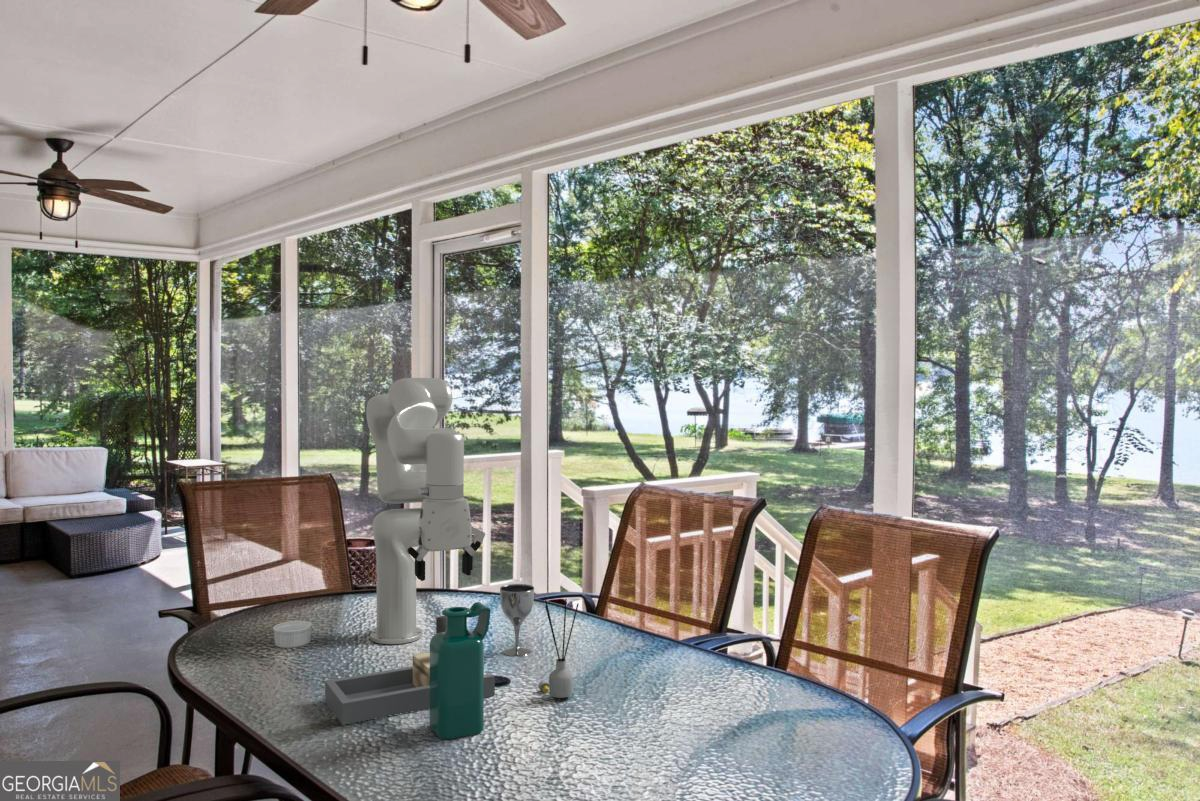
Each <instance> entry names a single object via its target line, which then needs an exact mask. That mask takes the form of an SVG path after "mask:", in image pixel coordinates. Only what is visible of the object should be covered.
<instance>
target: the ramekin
mask: <svg viewBox="0 0 1200 801" xmlns="http://www.w3.org/2000/svg"><path fill="white" fill-rule="evenodd" d="M312 627H313V623H312V622H310V621H308V620H290V621H284V622H280V623H278V624H275V625H273V627H272V631H273V635H274V636H273V637H274V644H275V645H276V647H278V648H282V647H283V649H288V648H290V649H291V648H292V647H293V648H299V647H302V646H306V645H308V644H309V643H310V641H311V636H312V635H311V633H312Z"/></svg>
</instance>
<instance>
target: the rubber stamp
mask: <svg viewBox="0 0 1200 801" xmlns="http://www.w3.org/2000/svg"><path fill="white" fill-rule="evenodd" d="M435 620H436V622H435V623H436V630H435V631H436V632H435V635H436V634H438V633H441V632H445V631H446V629H447V616H444V615H440V616H437V617H436V619H435ZM412 666H413V685H414V686H415V687H422V686H427V685H430V651H429V652H422V653H421V652H420V653H416V654H415V653H414V654H412Z"/></svg>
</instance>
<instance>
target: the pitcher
mask: <svg viewBox="0 0 1200 801" xmlns="http://www.w3.org/2000/svg"><path fill="white" fill-rule="evenodd" d="M441 614H442V616H447V629H446V631H445V632H441V633H438V634H436V633H435V634H434V635H433V636H432V637H431V639H430V642H429V652H430V709H429V727H430V728H431V730H432V731H433V732H434V733H435V735H436V736H437V737H438V738H439V739H441V740H454V739H459V738H464V737H470V736H475V735H478V733H479V734H480V733H482V732H483V731H484V727H485V726H484V724H485V723H484V722H485V721H484V720H485V716H484V715H485V712H484V711H485V710H484V709H485V708H484V704H485V702H484V701H485V698H484V675H485V669H484V668H485V667H484V666H485V662H484V661H485V659H484V658H485V657H484V656H485V654H484V653H485V652H484V651H485V647H484V646H485V644H484V641H483V640H484V639H485V638H486V635H487V633H488V630H489V628H490V620H491V608H490V607H488V606H486V605H485V604H483V603H482V602H480V601H476V602H474V603H472V605H471V607H464V606H451V607H446V608H444V609H443V610H442V611H441ZM476 617H477V623H476V626H474V629H473V630H470V629H468V626H467V625H468V618H469V619H470V618H476Z"/></svg>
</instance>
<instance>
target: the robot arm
mask: <svg viewBox="0 0 1200 801" xmlns="http://www.w3.org/2000/svg"><path fill="white" fill-rule="evenodd" d="M452 404H453V393H452V389H451V386H450V385H449V383H448V382H447V381H446V380H444V379H442V378H439V377H405V378H404V377H403V378H399V379H397V380H396V381H394V382H393V383H392V384H391V385H390V387H389V390H388V393H384V394H377V395H374V396H373V397H371V398H369V400H368V401H367V404H366V409H365V410H366V412H365V413H366V423H367V426H368V429H369V433H370V436H371V437H372V441H373V444H374V447H375V448H374V449H375V456H376V457H375V459H376V460H375V461H376V484H377V486H376V487H377V493H378V497H379V499H380V501H381V502H382V503H385V504H412V503H414V504H415V503H421V506H420V507H411V508H410V507H409V508H396V509H395V508H393V509H387V510H383V511H381V512H379V513H378V514H376V515H375V517H374V519H373V521H372V534H373V535H372V536H373V540H374V547H375V557H376V558H375V559H376V560H375V561H376V563H375V565H376V629H374V630H373V631H371V633H370V634H369V639H370V640H371V641H372V642H374V643H377V644H380V645H382V644H383V645H402V644H407V643H412V642H415V641H418V640H419V639H421V638H422V637H423V629H421V628H420V627H417V579H418V580H419V581H420V582H424V581H426V561H425V560H424V558H425V556H426V555H427V554H428V553H429V552H444V551H452V550H462V551H464V553H462V555H461V557H462V558H461V572H462V573H463V574H464V575H466V576H467V577H468V576H471V575H472V570H473V569H474V568H473V566H474V565H473V562H474V560H473V558H474V555H476V552H477V550H478V549H479V548H480V547H481V546H482V542H484V539H485V537H486V532H484V531H483V530H480V529H478V528H476V527H473V526H472V520H471V519H472V518H471V512H470V504H469V501H468V498H465V497H464V489H465V488H464V484H465V483H464V482H465V480H464V479H465V478H464V476H465V475H464V472H465V470H464V469H465V468H464V467H465V466H464V465H465V461H464V460H465V438H464V436H463V434H462V433H461V432H458V431H457V430H455V429H454V428H451V427H450V428H449V427H436V426H437V425H439V423H440V422H441V421H442V420H443V419H444V418H445V417H446V415H447V414H448V412H449V411H450V410H451V408H452ZM472 534H473V535H474V536H475V538H474V540H473V536H472ZM416 547H417V548H416ZM415 548H416V549H415Z"/></svg>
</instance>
